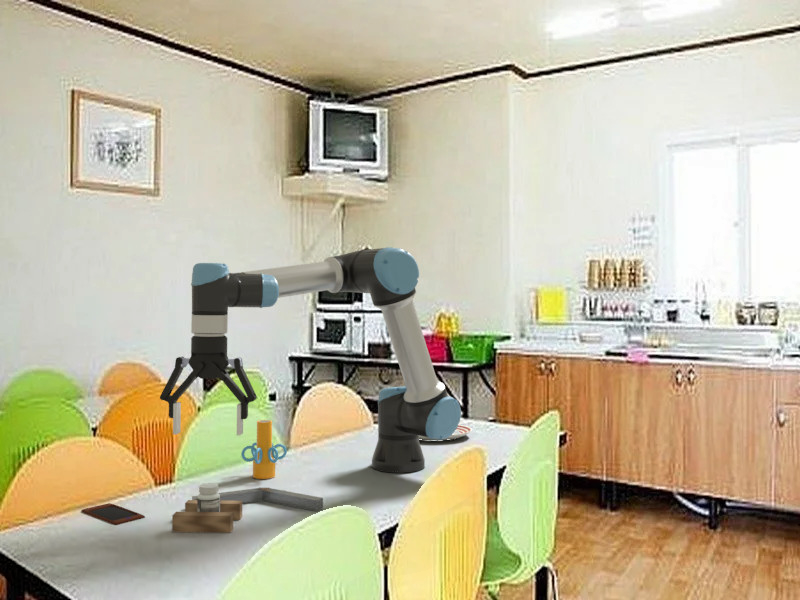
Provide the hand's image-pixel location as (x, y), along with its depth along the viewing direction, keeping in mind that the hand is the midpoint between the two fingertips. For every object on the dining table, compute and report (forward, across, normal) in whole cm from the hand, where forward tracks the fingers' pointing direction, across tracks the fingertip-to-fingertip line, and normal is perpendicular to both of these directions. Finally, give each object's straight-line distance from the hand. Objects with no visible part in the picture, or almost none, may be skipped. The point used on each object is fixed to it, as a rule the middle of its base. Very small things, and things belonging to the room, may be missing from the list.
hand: (208, 434), depth 158 cm
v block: (+19, -8, -15) cm, 26 cm away
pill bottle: (+19, 0, 0) cm, 19 cm away
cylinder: (+19, -4, -40) cm, 45 cm away
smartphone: (+20, +23, -5) cm, 31 cm away
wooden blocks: (+19, 0, 0) cm, 19 cm away
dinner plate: (+19, -52, -100) cm, 114 cm away
